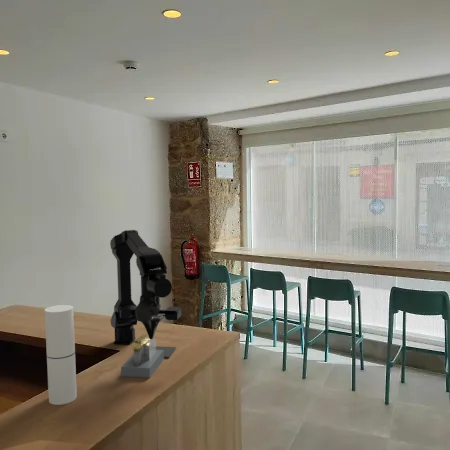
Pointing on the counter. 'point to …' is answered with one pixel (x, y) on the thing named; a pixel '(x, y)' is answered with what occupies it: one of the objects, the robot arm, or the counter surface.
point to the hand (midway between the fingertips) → (151, 338)
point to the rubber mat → (166, 350)
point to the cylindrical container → (60, 354)
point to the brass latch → (140, 342)
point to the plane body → (141, 365)
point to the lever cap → (148, 349)
